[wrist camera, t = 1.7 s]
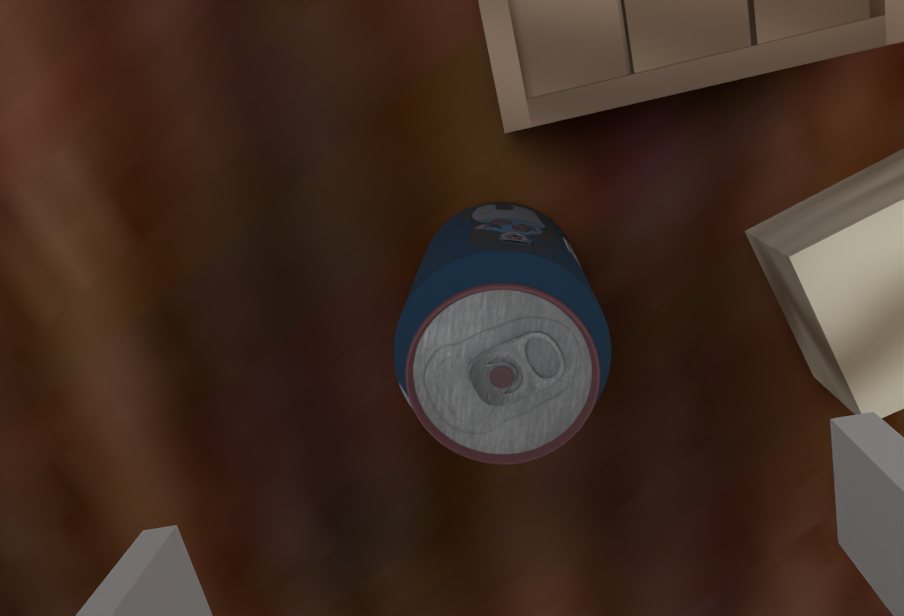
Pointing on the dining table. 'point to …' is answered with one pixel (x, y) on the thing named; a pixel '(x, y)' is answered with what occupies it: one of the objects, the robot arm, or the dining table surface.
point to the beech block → (845, 283)
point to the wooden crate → (660, 47)
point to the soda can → (501, 337)
